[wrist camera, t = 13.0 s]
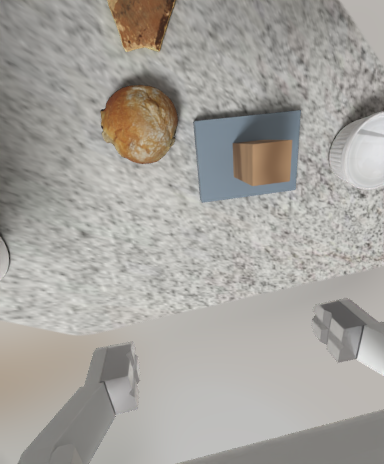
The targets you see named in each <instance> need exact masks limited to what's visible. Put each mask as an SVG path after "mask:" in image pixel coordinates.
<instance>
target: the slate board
mask: <svg viewBox="0 0 384 464" xmlns="http://www.w3.org/2000/svg"><path fill="white" fill-rule="evenodd" d="M300 115H301V110H297V111H288V112H278V113H269V114H259V115H250V116H240V117H230V118H221V119H211V120H202V121H194V122H193V123H194V134H195V145H196V156H197V168H198V179H199V190H200V200H201V202H202V203H203V202H210V201H217V200H225V199H232V198H239V197H247V196H254V195H261V194H269V193H276V192H283V191H291V190H295V189H296V174H297V159H298V144H299V129H300ZM257 140H292V154H291V171H290V181H288V182H281V183H273V184H266V185H258V186H251V185H249V184H247V183H245V182H243V181H241V180H239V179H237V178H235V177H234V172H233V143H239V142H248V141H257Z"/></svg>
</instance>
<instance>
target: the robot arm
mask: <svg viewBox="0 0 384 464" xmlns="http://www.w3.org/2000/svg"><path fill="white" fill-rule="evenodd" d="M8 266H9V254H8V251H7V248H6V245H5V243H4V242H3V240H2V238H1V237H0V280H1V279H2V278H3V277H4V276H5V274H6V272H7V270H8ZM313 312H314V314H315V316H314V318H313V319H312V328H313V332H314V334H315V336H316V337H317V338H318V339H319V341H321V342H323V343H324V344H326V345H327V350H328V352H329V353H330V354H331V355H332V356H333V357H334V359H335V360H336V361H337V362H343V361H348V360H353V359H357V360H358V361H360V362H361V363H363V364H364V365H366V366H368V367H370V368H371V369H373V370H374V371H376V372H378V373H379V374H381V375H383V376H384V322H378V321H377V320H375V319H374V318H373V317H371V316H370V315H369V314H368V313H367V312H365V311H364V310H363V309H362V308H360V307H359V306H358V305H357V304H355V303H354V302H353V301H352V300H350V299H348V298H344V299H340V300H336V301H330V302H325V303H321V304H316V305H315V306H314V307H313ZM139 369H140V368H139V360H138V356H136V355H135V345H134V342H128V343H122V344H116V345H111V346H107V347H101V348H96V350H95V351H94V353H93V356H92V360H91V363H90V367H89V371H88V374H87V378H86V381H85V385H84V386H83V387H80V388H79V389H78V390H77V391H76V393H75V394H74V395H73V396H72V397H71V398H70V399H69V401H68V402H67V403H66V404H65V405H64V406H63V408H62V409H61V410H60V411H59V412H58V413H57V414H56V415H55V417H54V418H53V419H52V420H51V421H50V422H49V424H48V425H47V426H46V427H45V428H44V429H43V430H42V432H41V433H40V434H39V435H38V436H37V437H36V438H35V439H34V441H33V442H32V443H31V444H30V445H29V446H28V447H27V449H26V450H25V451H24V452H23V453H22V455H21V457H20V460H19V462H18V464H89V463H90V461H91V459H92V458H93V456H94V454H95V452H96V450H97V449H98V447H99V445H100V443H101V442H102V440H103V438H104V436H105V434H106V433H107V431H108V429H109V427H110V425H111V424H112V422H113V420H114V418H115V417H116V416H115V415H116V414H121V413H124V412H128V411H132V410H136V409H138V399H139V390H138V386H137V384H138V382H139V381H140V370H139ZM177 464H384V409H383V410H380V411H376V412H372V413H368V414H364V415H361V416H357V417H353V418H349V419H345V420H342V421H337V422H334V423H330V424H326V425H322V426H318V427H314V428H311V429H307V430H303V431H299V432H295V433H292V434H288V435H284V436H280V437H277V438H272V439H269V440H265V441H261V442H257V443H253V444H250V445H246V446H242V447H238V448H234V449H231V450H227V451H223V452H219V453H216V454H211V455H208V456H204V457H200V458H196V459H193V460H188V461H185V462H181V463H177Z"/></svg>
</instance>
